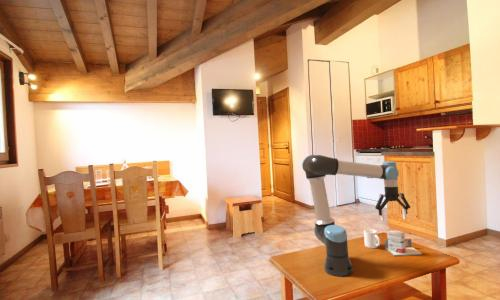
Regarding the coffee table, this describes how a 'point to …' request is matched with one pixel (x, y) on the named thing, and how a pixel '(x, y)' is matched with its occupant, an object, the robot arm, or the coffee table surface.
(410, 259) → the coffee table surface
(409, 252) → the laptop
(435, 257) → the coffee table surface
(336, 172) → the robot arm
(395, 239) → the ink box
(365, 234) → the mug
